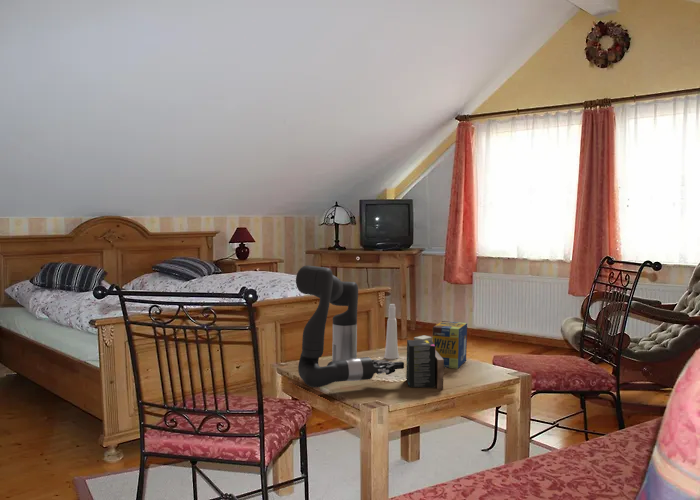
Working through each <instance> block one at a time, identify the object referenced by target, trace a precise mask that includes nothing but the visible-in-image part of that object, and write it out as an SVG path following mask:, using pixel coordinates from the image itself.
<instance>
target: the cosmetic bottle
mask: <svg viewBox="0 0 700 500" xmlns="http://www.w3.org/2000/svg"><path fill="white" fill-rule="evenodd" d="M396 310H397V307H396V304H395V303H390V304H389V305H388V318H387V322H386V323H387V324H386V337H385V338H386V340H385V351H384V356H383V358H384V359H387V360H397V359H396V358H398V359H399V358H400V355H399V348H398V346H399V345H398V326H397V322H398V321H397V318H396Z"/></svg>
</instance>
